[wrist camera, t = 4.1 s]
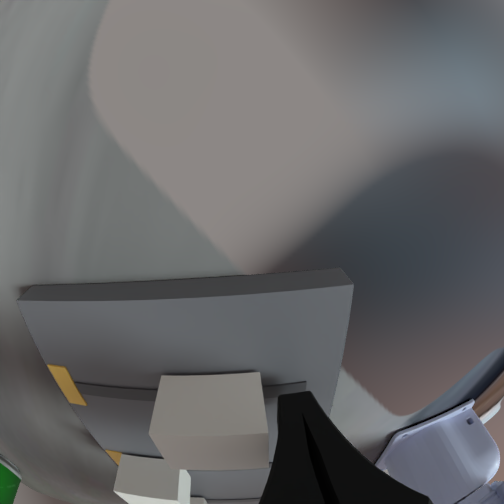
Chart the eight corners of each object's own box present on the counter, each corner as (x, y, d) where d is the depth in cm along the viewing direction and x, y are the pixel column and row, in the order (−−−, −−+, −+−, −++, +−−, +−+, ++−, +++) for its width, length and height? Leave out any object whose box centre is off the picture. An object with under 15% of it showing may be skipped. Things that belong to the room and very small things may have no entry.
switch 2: (180, 460, 13) (177, 500, 10) (190, 477, 14) (189, 512, 11) (121, 454, 13) (113, 490, 10) (137, 472, 14) (131, 505, 11)
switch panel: (339, 267, 11) (354, 285, 10) (298, 495, 20) (300, 507, 19) (32, 285, 10) (15, 301, 9) (164, 498, 20) (163, 510, 18)
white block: (259, 371, 11) (268, 432, 8) (261, 414, 12) (268, 467, 9) (161, 375, 10) (148, 433, 8) (177, 417, 11) (170, 469, 9)
